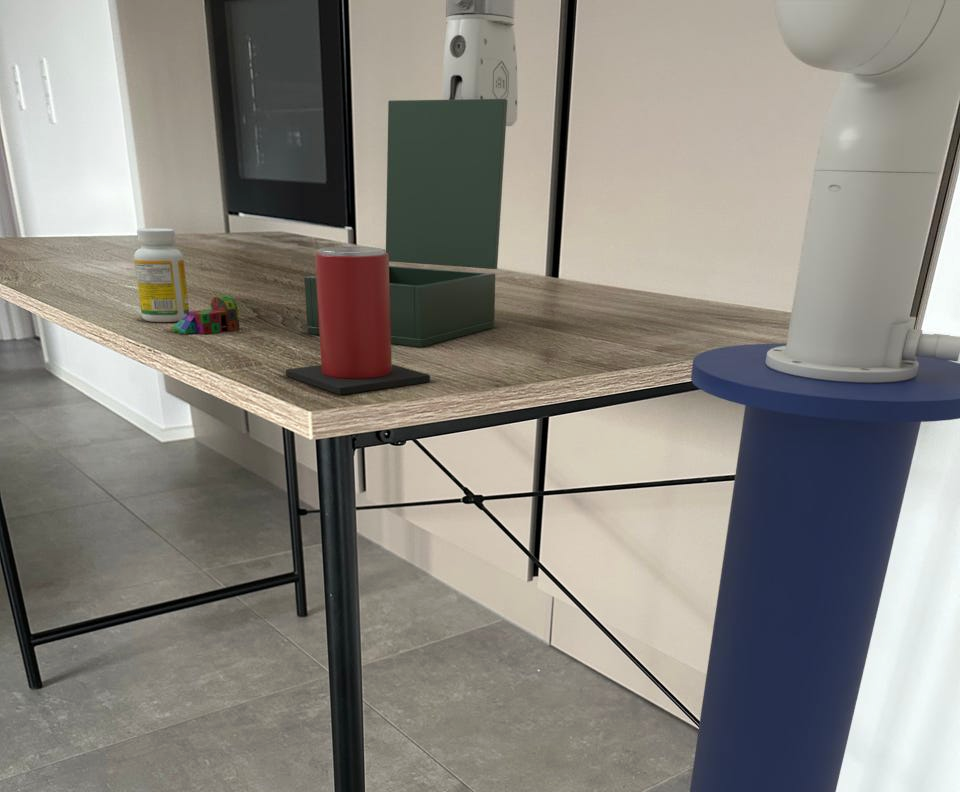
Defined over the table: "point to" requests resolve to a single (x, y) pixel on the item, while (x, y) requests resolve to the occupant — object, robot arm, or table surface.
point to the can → (354, 312)
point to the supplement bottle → (160, 276)
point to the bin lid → (445, 181)
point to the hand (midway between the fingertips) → (477, 193)
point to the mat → (357, 380)
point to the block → (210, 318)
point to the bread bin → (428, 304)
